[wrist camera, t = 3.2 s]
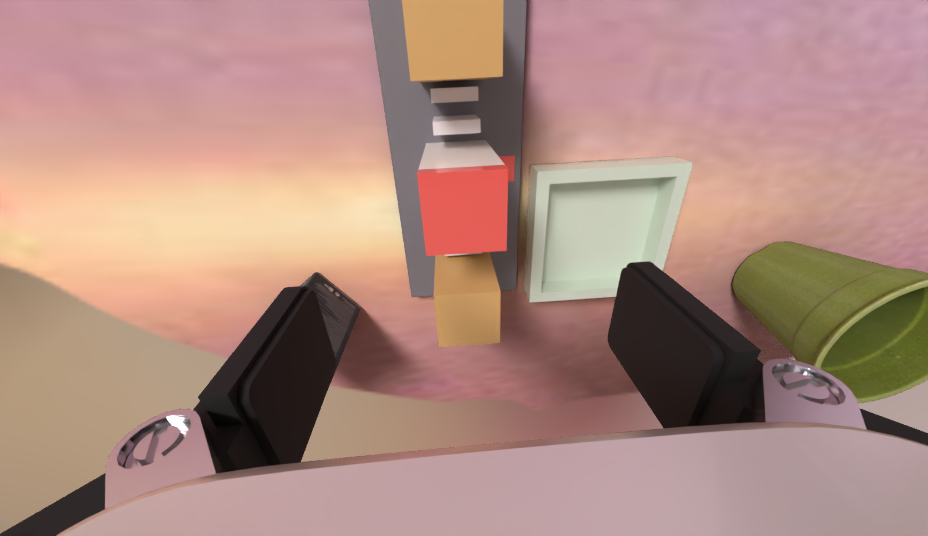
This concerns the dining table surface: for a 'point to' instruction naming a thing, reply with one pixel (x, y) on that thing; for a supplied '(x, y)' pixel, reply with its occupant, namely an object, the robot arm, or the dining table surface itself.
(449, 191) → the white block red top
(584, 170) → the tray
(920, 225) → the dining table surface
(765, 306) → the plant pot
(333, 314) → the box
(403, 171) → the fuse block
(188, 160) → the dining table surface
